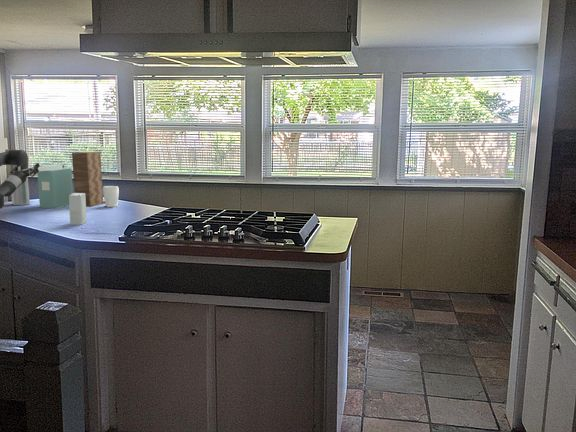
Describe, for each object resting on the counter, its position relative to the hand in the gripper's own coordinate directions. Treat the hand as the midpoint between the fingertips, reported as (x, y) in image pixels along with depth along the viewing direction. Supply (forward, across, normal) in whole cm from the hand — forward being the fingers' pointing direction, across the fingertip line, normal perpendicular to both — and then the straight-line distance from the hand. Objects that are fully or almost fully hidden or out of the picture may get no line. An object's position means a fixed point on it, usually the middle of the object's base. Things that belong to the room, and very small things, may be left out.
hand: (32, 164), depth 293 cm
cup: (+9, +32, -36) cm, 49 cm away
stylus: (+10, 0, -11) cm, 15 cm away
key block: (+4, 0, -33) cm, 33 cm away
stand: (+12, +16, -37) cm, 42 cm away
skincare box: (-39, +48, -8) cm, 63 cm away
